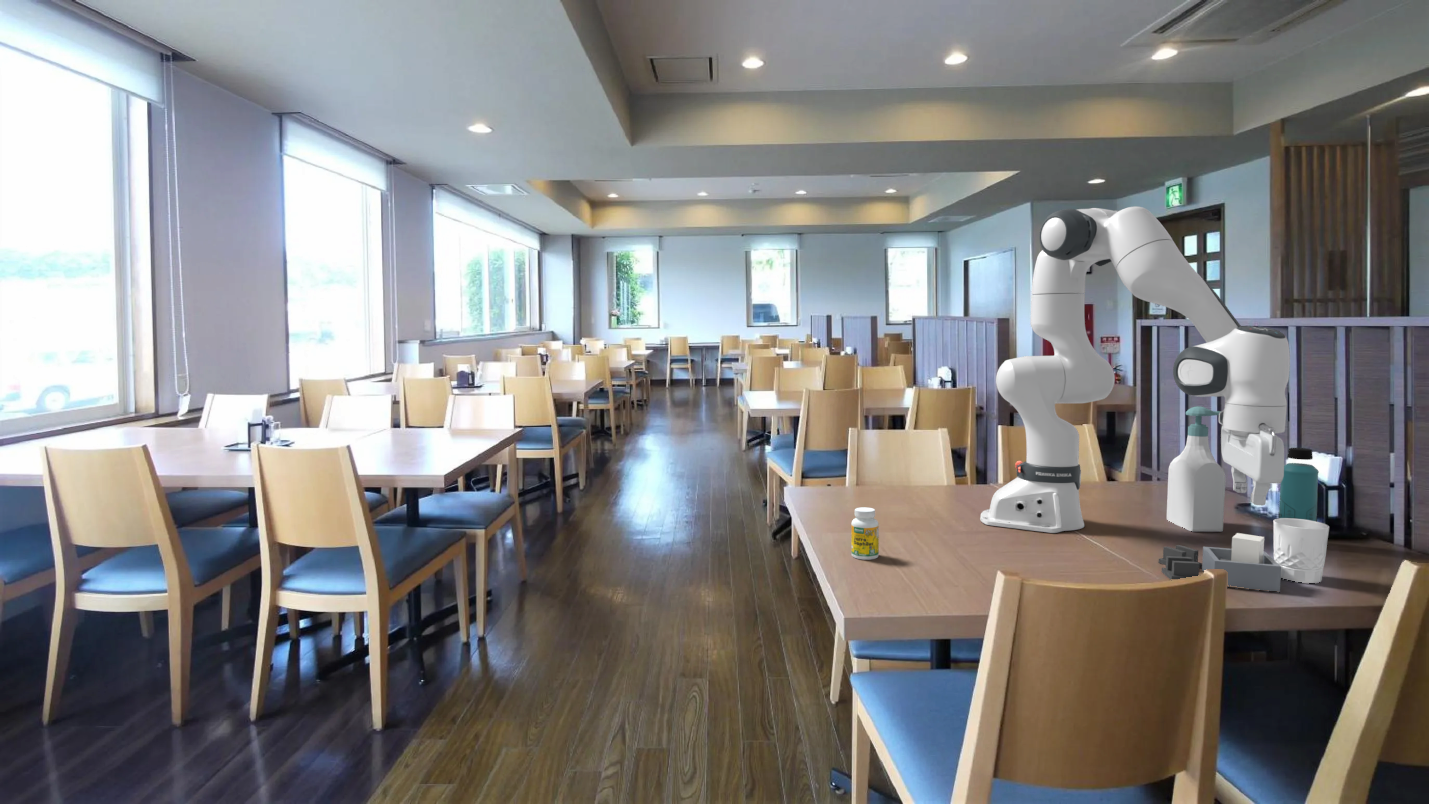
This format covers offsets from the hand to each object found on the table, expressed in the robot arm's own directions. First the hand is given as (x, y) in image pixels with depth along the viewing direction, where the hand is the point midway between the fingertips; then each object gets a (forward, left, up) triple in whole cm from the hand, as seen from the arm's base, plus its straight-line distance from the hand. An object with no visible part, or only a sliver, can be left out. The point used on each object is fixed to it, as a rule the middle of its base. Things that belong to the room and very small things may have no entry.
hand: (1248, 498), depth 135 cm
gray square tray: (-1, 0, -15) cm, 15 cm away
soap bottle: (0, +42, -15) cm, 44 cm away
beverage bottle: (+16, +33, -15) cm, 39 cm away
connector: (0, 0, -14) cm, 14 cm away
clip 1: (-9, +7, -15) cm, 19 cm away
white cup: (+9, +5, -15) cm, 18 cm away
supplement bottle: (-66, -8, -15) cm, 68 cm away
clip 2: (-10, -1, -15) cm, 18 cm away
